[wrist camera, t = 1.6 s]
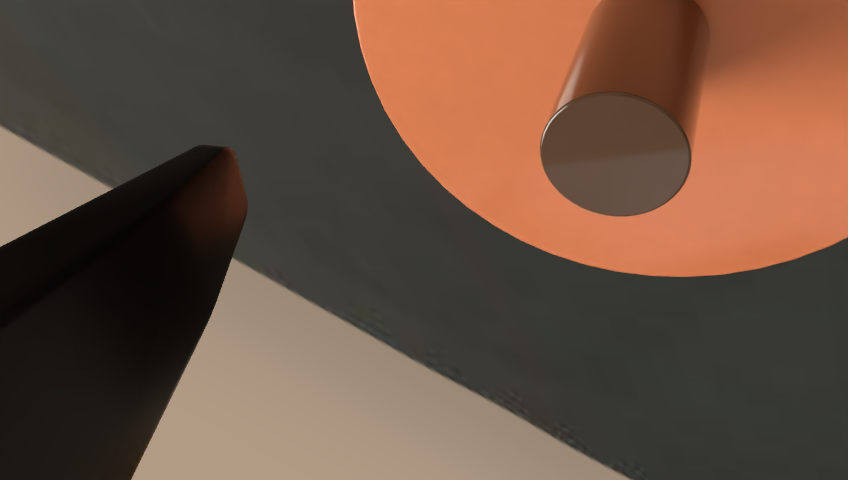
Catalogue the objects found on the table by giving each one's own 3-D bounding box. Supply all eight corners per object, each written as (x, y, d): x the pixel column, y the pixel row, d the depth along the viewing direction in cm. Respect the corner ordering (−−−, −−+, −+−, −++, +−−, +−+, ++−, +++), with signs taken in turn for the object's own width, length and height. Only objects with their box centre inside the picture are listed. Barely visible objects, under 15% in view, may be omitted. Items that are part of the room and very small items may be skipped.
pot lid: (994, 241, 18) (1050, 436, 15) (459, 257, 25) (396, 398, 21) (1083, -522, 11) (1249, -546, 7) (279, -227, 17) (125, -150, 13)
